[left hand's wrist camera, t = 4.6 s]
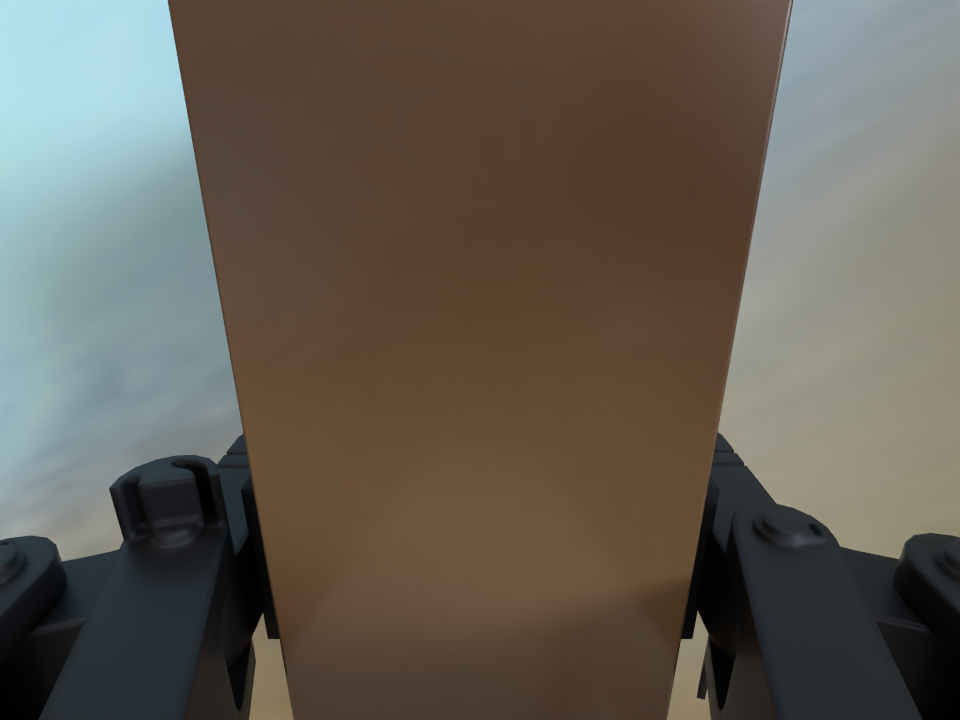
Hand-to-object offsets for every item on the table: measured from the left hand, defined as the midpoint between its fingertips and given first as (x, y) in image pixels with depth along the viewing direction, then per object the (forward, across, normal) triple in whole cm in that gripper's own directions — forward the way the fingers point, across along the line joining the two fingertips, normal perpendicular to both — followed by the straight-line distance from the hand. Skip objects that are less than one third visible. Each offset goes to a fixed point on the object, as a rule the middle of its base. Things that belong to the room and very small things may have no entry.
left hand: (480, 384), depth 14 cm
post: (+1, 0, -32) cm, 32 cm away
